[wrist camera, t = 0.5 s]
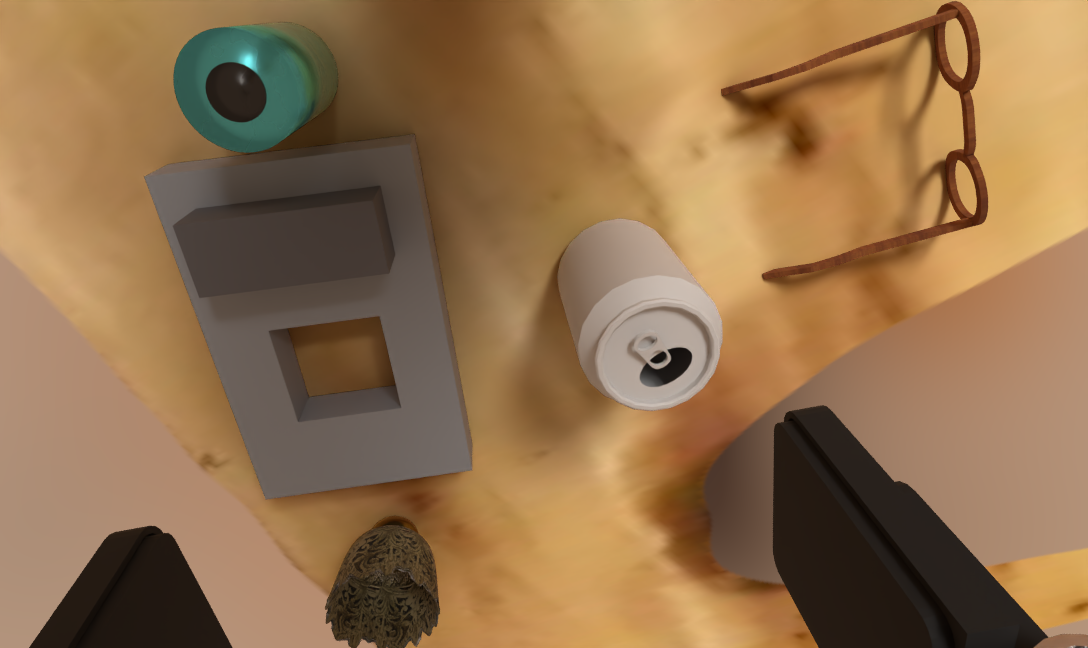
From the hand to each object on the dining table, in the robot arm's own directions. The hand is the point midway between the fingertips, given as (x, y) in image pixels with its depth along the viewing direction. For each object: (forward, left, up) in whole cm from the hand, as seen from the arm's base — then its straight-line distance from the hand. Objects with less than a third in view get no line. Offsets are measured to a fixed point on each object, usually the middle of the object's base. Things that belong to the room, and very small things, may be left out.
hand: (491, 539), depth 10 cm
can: (+9, +7, -32) cm, 34 cm away
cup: (+28, -11, -32) cm, 43 cm away
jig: (+10, -11, -31) cm, 35 cm away
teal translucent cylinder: (-5, -10, -32) cm, 33 cm away
